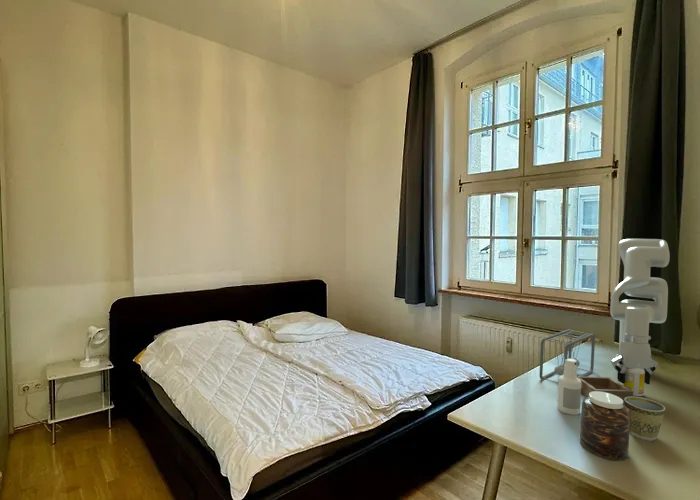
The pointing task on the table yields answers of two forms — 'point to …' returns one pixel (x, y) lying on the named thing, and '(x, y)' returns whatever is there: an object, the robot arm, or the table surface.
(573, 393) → the spray bottle
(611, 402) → the jar
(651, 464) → the table surface
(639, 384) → the supplement bottle
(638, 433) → the ceramic cup
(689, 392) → the table surface
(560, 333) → the newton's cradle
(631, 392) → the box
